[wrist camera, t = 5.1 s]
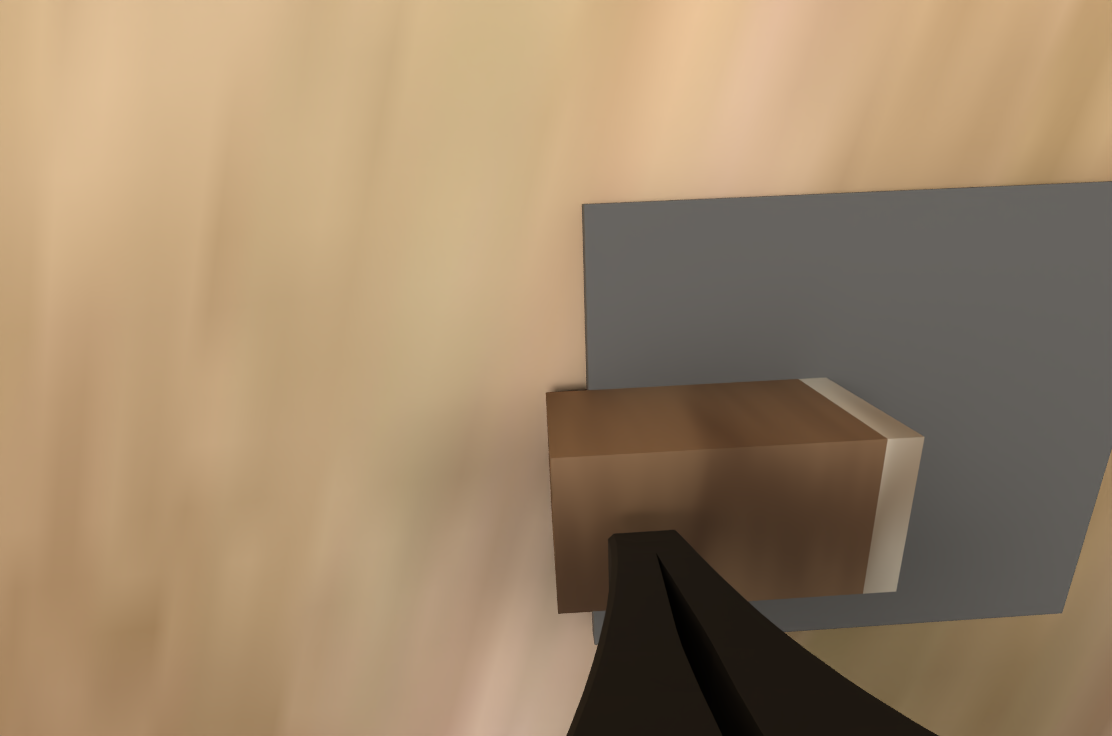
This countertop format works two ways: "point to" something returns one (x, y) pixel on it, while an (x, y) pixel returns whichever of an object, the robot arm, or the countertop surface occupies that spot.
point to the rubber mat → (894, 359)
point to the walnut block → (733, 485)
